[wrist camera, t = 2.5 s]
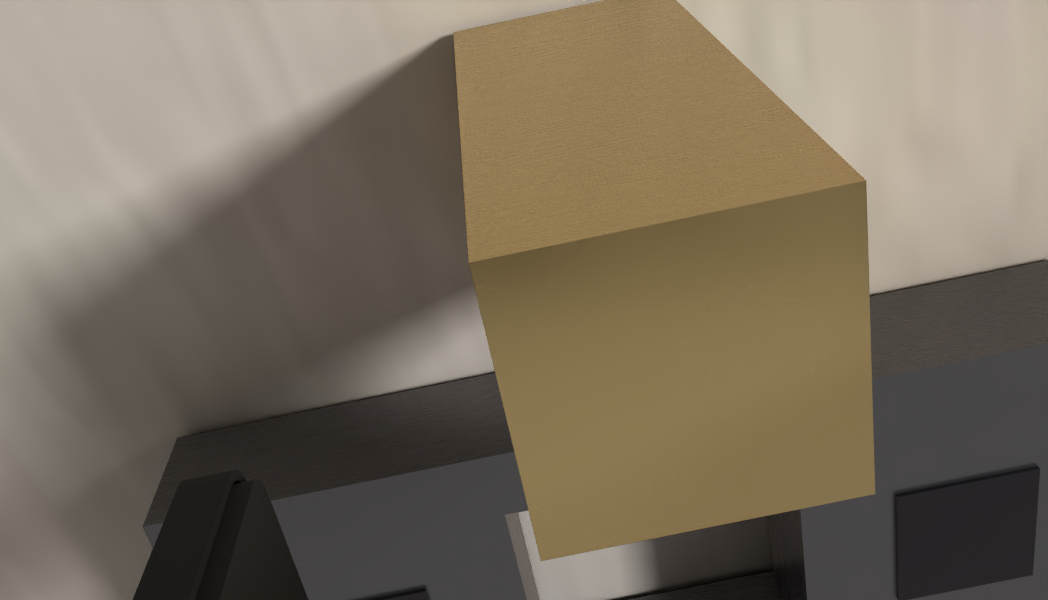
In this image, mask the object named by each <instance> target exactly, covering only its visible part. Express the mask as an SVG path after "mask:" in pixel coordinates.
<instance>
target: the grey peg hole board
mask: <svg viewBox="0 0 1048 600" xmlns="http://www.w3.org/2000/svg"><path fill="white" fill-rule="evenodd" d="M870 330H871V364H872V399H873V433H874V468H875V494H873V495H868V496H863V497H858V498H853V499H848V500H843V501H838V502H833V503H828V504H823V505H818V506H813V507H808V508H803V509H798V510H793V511H788V512H783V513H778V514H773V515H768V521H769V532H770V542H771V553H772V563H773V571H770V572H765V573H760V574H755V575H750V576H745V577H740V578H735V579H730V580H725V581H720V582H715V583H710V584H705V585H700V586H695V587H690V588H685V589H680V590H674V591H669V592H664V593H659V594H654V595H649V596H644V597H639V598H634V599H629V600H1048V260H1046V261H1042V262H1037V263H1032V264H1027V265H1022V266H1017V267H1012V268H1007V269H1002V270H997V271H993V272H988V273H983V274H978V275H973V276H968V277H963V278H958V279H953V280H948V281H944V282H939V283H934V284H929V285H924V286H919V287H914V288H909V289H904V290H899V291H895V292H890V293H885V294H880V295H875V296H870ZM235 469H236V470H238V471H240V472H241V473H242V474H243V475H244V477H245V479H246V481H251V480H256V479H258V480H261V482H262V483H263V484H264V486H265V488H266V490H267V492H268V495H269V498H270V500H271V503H272V506H273V508H274V511H275V513H276V516H277V519H278V521H279V524H280V526H281V529H282V532H283V534H284V537H285V540H286V542H287V545H288V547H289V550H290V553H291V555H292V558H293V561H294V563H295V566H296V568H297V571H298V574H299V576H300V579H301V582H302V584H303V587H304V589H305V592H306V595H307V597H308V600H540V599H539V595H538V591H537V587H536V583H535V579H534V575H533V571H532V567H531V563H530V559H529V555H528V551H527V547H526V543H525V539H524V535H523V531H522V527H521V523H520V519H519V515H518V512H522V511H527V510H528V506H527V502H526V497H525V493H524V489H523V485H522V481H521V477H520V473H519V468H518V464H517V460H516V456H515V452H514V448H513V444H512V440H511V435H510V431H509V427H508V423H507V419H506V415H505V411H504V407H503V402H502V398H501V394H500V390H499V386H498V382H497V378H496V373H493V374H488V375H483V376H478V377H473V378H468V379H463V380H458V381H453V382H449V383H444V384H439V385H434V386H429V387H424V388H419V389H414V390H409V391H404V392H399V393H395V394H390V395H385V396H380V397H375V398H370V399H365V400H360V401H355V402H350V403H346V404H341V405H336V406H331V407H326V408H321V409H316V410H311V411H306V412H301V413H297V414H292V415H287V416H282V417H277V418H272V419H267V420H262V421H257V422H252V423H248V424H243V425H238V426H233V427H228V428H223V429H218V430H213V431H208V432H203V433H199V434H194V435H189V436H184V437H179V438H177V440H176V443H175V445H174V448H173V451H172V453H171V456H170V458H169V461H168V463H167V466H166V469H165V471H164V474H163V476H162V479H161V481H160V484H159V486H158V489H157V492H156V494H155V497H154V499H153V502H152V504H151V507H150V509H149V512H148V515H147V517H146V520H145V522H144V525H143V528H144V530H145V532H146V534H147V537H148V539H149V541H150V543H151V545H152V547H153V548H154V545H155V543H156V540H157V538H158V535H159V533H160V530H161V528H162V525H163V523H164V520H165V518H166V515H167V513H168V510H169V508H170V505H171V503H172V500H173V498H174V495H175V493H176V490H177V488H178V486H179V484H180V483H181V482H182V481H184V480H186V479H191V478H196V477H201V476H205V475H210V474H215V473H220V472H225V471H230V470H235Z"/></svg>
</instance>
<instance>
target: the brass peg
mask: <svg viewBox="0 0 1048 600" xmlns="http://www.w3.org/2000/svg"><path fill="white" fill-rule="evenodd" d="M453 36H454V51H455V66H456V81H457V96H458V111H459V126H460V140H461V155H462V170H463V185H464V200H465V215H466V230H467V245H468V260H469V266H470V270H471V274H472V278H473V283H474V287H475V291H476V295H477V299H478V303H479V307H480V311H481V316H482V320H483V324H484V328H485V332H486V336H487V340H488V345H489V349H490V353H491V357H492V361H493V365H494V369H495V373H496V378H497V382H498V386H499V390H500V394H501V398H502V402H503V407H504V411H505V415H506V419H507V423H508V427H509V431H510V435H511V440H512V444H513V448H514V452H515V456H516V460H517V464H518V468H519V473H520V477H521V481H522V485H523V489H524V493H525V497H526V502H527V506H528V510H529V514H530V518H531V522H532V526H533V530H534V535H535V539H536V543H537V547H538V551H539V555H540V559H541V561H544V560H549V559H554V558H559V557H564V556H569V555H574V554H579V553H584V552H589V551H594V550H599V549H604V548H609V547H614V546H619V545H624V544H629V543H634V542H638V541H643V540H648V539H653V538H658V537H663V536H668V535H673V534H678V533H683V532H688V531H693V530H698V529H703V528H708V527H713V526H718V525H723V524H728V523H733V522H738V521H743V520H748V519H753V518H758V517H763V516H768V515H773V514H778V513H783V512H788V511H793V510H798V509H803V508H808V507H813V506H818V505H823V504H828V503H833V502H838V501H843V500H848V499H853V498H858V497H863V496H868V495H873V494H875V468H874V433H873V399H872V364H871V330H870V296H869V261H868V227H867V193H866V180H865V179H864V178H863V177H862V176H861V175H860V174H859V173H858V172H857V171H856V170H855V169H853V168H852V167H851V166H850V165H849V164H848V163H847V162H846V161H845V160H844V159H843V158H842V157H841V156H840V155H839V154H838V153H837V152H836V151H834V150H833V149H832V148H831V147H830V146H829V145H828V144H827V143H826V142H825V141H824V140H823V139H822V138H821V137H820V136H819V135H818V134H817V133H816V132H814V131H813V130H812V129H811V128H810V127H809V126H808V125H807V124H806V123H805V122H804V121H803V120H802V119H801V118H800V117H799V116H798V115H797V114H795V113H794V112H793V111H792V110H791V109H790V108H789V107H788V106H787V105H786V104H785V103H784V102H783V101H782V100H781V99H780V98H779V97H778V96H777V95H775V94H774V93H773V92H772V91H771V90H770V89H769V88H768V87H767V86H766V85H765V84H764V83H763V82H762V81H761V80H760V79H759V78H758V77H756V76H755V75H754V74H753V73H752V72H751V71H750V70H749V69H748V68H747V67H746V66H745V65H744V64H743V63H742V62H741V61H740V60H739V59H738V58H736V57H735V56H734V55H733V54H732V53H731V52H730V51H729V50H728V49H727V48H726V47H725V46H724V45H723V44H722V43H721V42H720V41H719V40H717V39H716V38H715V37H714V36H713V35H712V34H711V33H710V32H709V31H708V30H707V29H706V28H705V27H704V26H703V25H702V24H701V23H700V22H698V21H697V20H696V19H695V18H694V17H693V16H692V15H691V14H690V13H689V12H688V11H687V10H686V9H685V8H684V7H683V6H682V5H681V4H680V3H678V2H677V1H676V0H604V1H599V2H594V3H589V4H585V5H580V6H575V7H570V8H566V9H561V10H556V11H552V12H547V13H542V14H537V15H533V16H528V17H523V18H518V19H514V20H509V21H504V22H500V23H495V24H490V25H485V26H481V27H476V28H471V29H466V30H462V31H457V32H453Z"/></svg>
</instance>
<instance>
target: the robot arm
mask: <svg viewBox="0 0 1048 600" xmlns="http://www.w3.org/2000/svg"><path fill="white" fill-rule="evenodd" d="M133 600H308V597H307V595H306V592H305V589H304V587H303V584H302V582H301V579H300V576H299V574H298V571H297V568H296V566H295V563H294V561H293V558H292V555H291V553H290V550H289V547H288V545H287V542H286V540H285V537H284V534H283V532H282V529H281V526H280V524H279V521H278V519H277V516H276V513H275V511H274V508H273V506H272V503H271V500H270V498H269V495H268V492H267V490H266V488H265V486H264V484H263V483H262V482H261V480H258V479H256V480H251V481H246V479H245V477H244V475H243V474H242V473H241V472H240V471H238V470H236V469H235V470H230V471H225V472H220V473H215V474H210V475H205V476H201V477H196V478H191V479H186V480H184V481H182V482H181V483H180V484H179V486H178V488H177V490H176V493H175V495H174V498H173V500H172V503H171V505H170V508H169V510H168V513H167V515H166V518H165V520H164V523H163V525H162V528H161V530H160V533H159V535H158V538H157V540H156V543H155V545H154V548H153V550H152V553H151V555H150V558H149V560H148V563H147V565H146V568H145V570H144V573H143V575H142V578H141V580H140V583H139V585H138V588H137V590H136V593H135V595H134V598H133Z"/></svg>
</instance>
